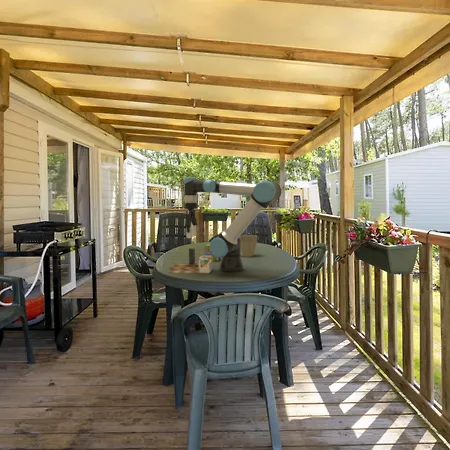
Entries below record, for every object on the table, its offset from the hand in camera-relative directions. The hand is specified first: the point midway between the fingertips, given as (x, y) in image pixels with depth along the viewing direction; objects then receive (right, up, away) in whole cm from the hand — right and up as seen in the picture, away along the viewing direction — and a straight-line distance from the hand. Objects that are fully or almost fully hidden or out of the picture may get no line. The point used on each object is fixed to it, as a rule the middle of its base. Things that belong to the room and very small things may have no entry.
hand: (191, 236), depth 220 cm
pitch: (-3, -21, +2) cm, 22 cm away
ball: (+9, -19, 0) cm, 21 cm away
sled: (0, -20, +1) cm, 20 cm away
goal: (+8, -21, 0) cm, 23 cm away
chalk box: (+12, -19, +39) cm, 45 cm away
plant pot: (+39, -17, +56) cm, 70 cm away
